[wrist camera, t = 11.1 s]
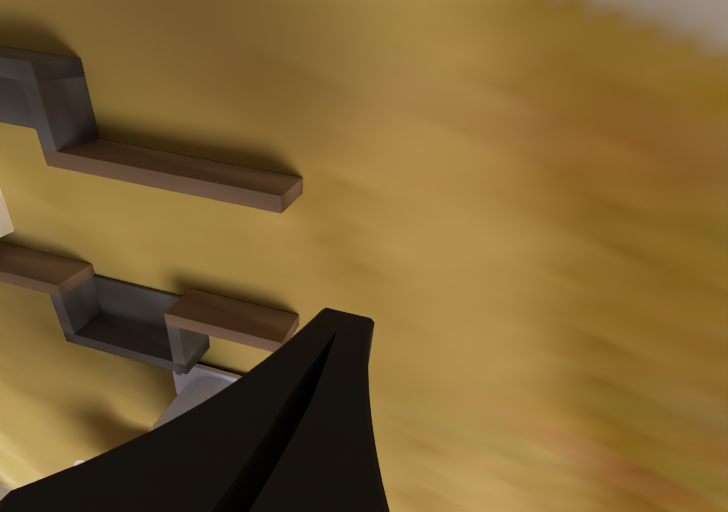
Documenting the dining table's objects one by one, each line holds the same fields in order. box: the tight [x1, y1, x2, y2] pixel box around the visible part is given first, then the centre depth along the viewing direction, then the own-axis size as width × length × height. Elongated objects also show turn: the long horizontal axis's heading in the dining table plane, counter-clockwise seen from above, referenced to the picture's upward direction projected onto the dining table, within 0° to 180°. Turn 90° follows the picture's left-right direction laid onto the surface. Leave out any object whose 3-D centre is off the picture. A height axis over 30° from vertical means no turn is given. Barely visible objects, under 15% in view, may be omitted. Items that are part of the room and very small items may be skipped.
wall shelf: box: [0, 46, 303, 375], centre depth 22 cm, size 17×27×3 cm, turn 84°
